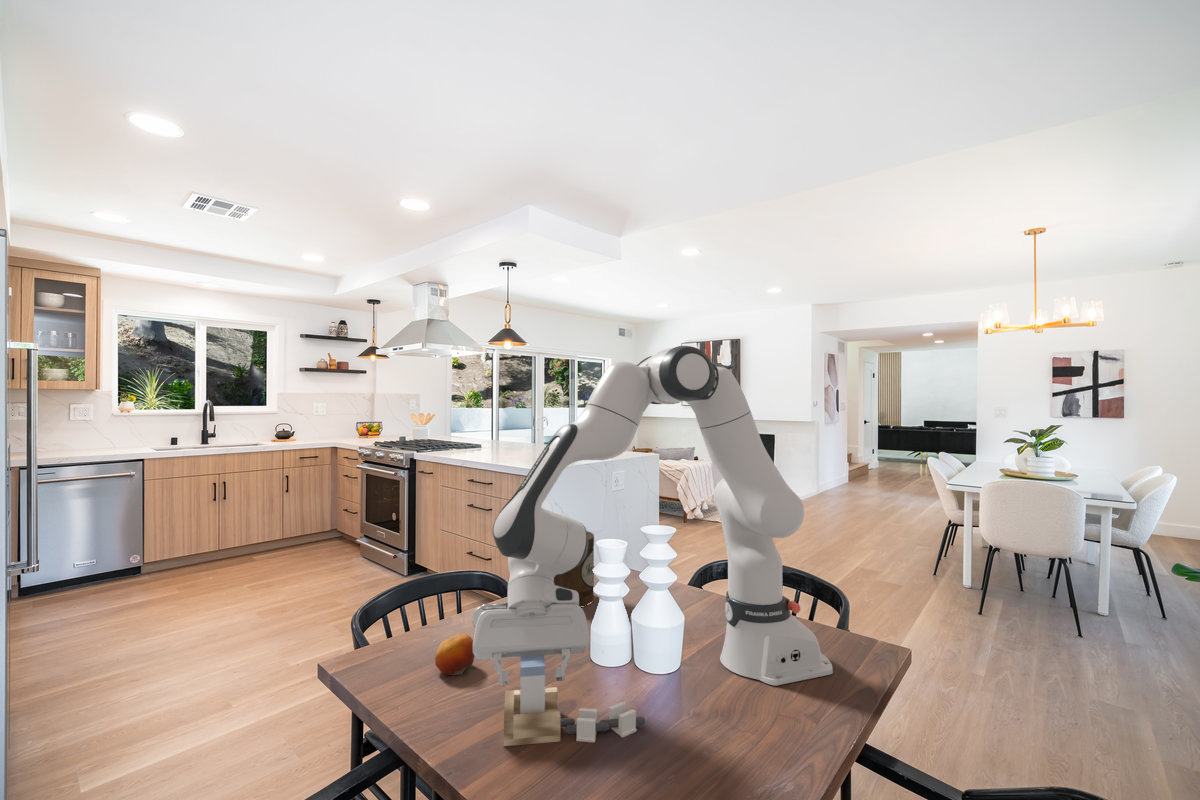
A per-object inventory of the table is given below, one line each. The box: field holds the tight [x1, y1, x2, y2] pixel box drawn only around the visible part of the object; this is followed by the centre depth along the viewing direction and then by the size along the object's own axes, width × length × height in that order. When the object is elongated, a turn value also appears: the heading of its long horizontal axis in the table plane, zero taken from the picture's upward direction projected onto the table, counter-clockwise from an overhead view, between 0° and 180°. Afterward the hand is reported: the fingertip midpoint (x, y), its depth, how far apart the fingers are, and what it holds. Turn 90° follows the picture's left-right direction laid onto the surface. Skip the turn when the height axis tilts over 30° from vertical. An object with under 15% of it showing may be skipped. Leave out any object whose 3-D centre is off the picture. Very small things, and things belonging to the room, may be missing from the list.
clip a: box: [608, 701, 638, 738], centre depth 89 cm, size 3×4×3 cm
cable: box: [560, 716, 646, 735], centre depth 89 cm, size 16×3×1 cm, turn 98°
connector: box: [519, 655, 546, 714], centre depth 90 cm, size 4×4×10 cm
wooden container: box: [554, 530, 595, 607], centre depth 149 cm, size 15×15×22 cm
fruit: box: [434, 633, 476, 676], centre depth 109 cm, size 8×8×8 cm
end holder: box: [503, 686, 562, 747], centre depth 90 cm, size 9×9×4 cm
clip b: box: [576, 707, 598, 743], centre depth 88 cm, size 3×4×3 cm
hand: (532, 681), depth 89 cm, fingers open, 8 cm apart
